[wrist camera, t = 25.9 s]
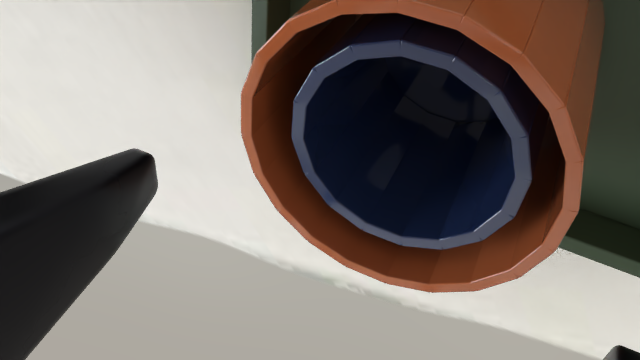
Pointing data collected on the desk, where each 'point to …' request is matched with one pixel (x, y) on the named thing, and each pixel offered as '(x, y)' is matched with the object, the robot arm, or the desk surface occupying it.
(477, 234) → the small cup
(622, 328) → the desk surface
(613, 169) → the tray
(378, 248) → the large cup
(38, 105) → the desk surface
